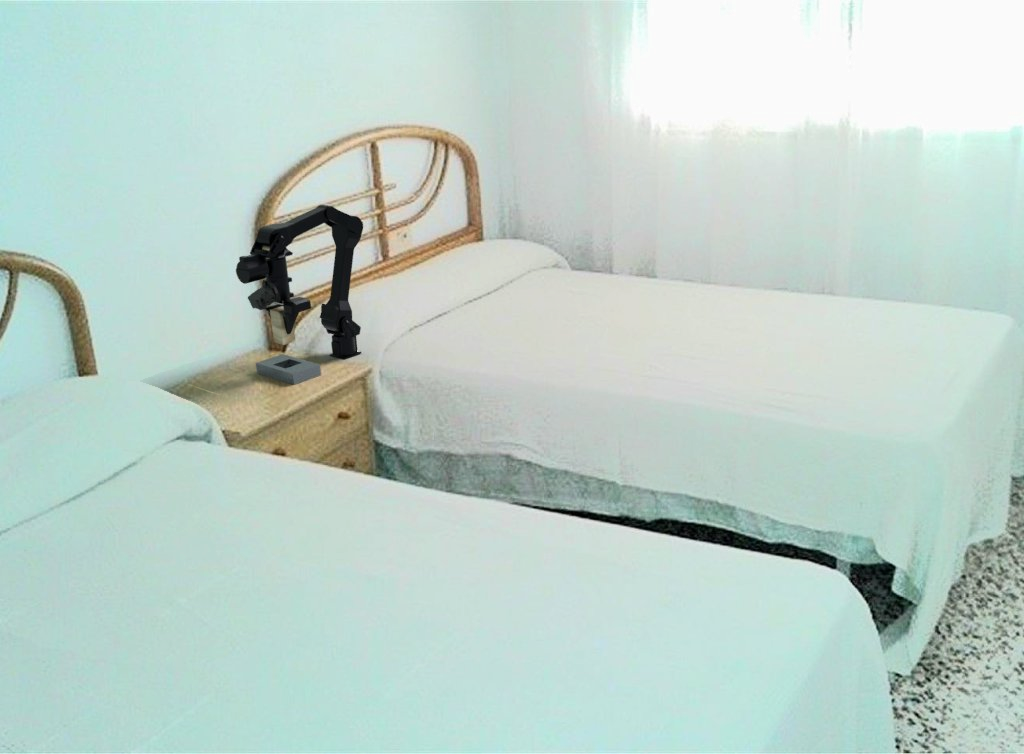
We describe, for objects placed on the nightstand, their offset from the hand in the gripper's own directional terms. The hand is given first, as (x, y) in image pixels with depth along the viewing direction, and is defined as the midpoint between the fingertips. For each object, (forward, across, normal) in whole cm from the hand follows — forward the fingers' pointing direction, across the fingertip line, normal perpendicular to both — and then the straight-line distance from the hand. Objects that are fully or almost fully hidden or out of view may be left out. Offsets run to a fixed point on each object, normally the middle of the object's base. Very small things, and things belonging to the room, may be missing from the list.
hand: (283, 332), depth 274 cm
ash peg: (+2, 0, 0) cm, 3 cm away
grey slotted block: (+12, 0, 0) cm, 12 cm away
